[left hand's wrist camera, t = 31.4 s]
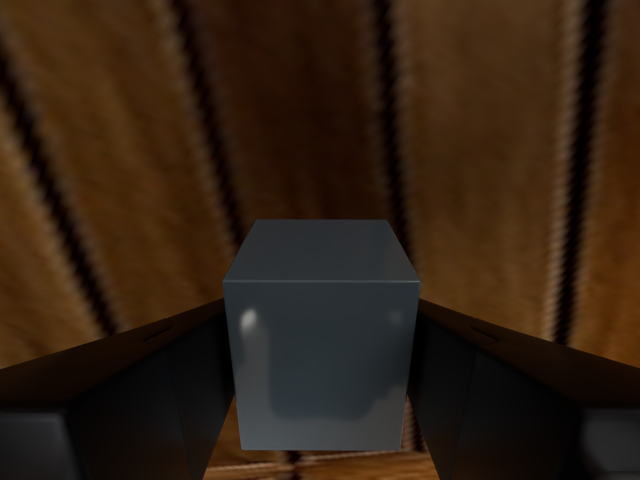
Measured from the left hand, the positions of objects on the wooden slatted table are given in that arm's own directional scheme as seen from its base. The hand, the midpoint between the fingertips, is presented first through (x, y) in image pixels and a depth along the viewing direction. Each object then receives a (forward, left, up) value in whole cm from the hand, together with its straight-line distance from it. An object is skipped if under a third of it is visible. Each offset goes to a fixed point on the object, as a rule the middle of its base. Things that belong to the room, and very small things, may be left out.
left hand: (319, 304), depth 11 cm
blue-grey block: (0, 0, -1) cm, 1 cm away
